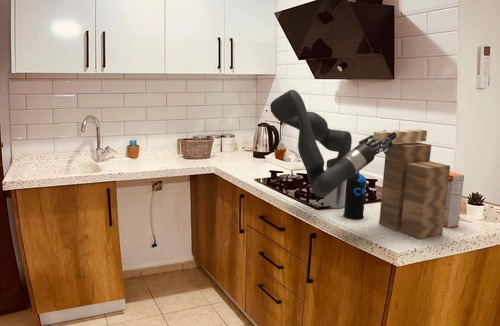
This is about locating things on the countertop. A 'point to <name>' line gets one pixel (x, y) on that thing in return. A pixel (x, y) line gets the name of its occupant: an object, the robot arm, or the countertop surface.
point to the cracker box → (453, 200)
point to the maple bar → (402, 135)
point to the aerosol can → (355, 196)
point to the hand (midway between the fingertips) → (390, 133)
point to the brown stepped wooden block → (413, 191)
